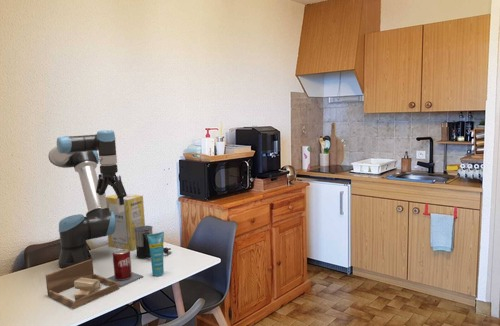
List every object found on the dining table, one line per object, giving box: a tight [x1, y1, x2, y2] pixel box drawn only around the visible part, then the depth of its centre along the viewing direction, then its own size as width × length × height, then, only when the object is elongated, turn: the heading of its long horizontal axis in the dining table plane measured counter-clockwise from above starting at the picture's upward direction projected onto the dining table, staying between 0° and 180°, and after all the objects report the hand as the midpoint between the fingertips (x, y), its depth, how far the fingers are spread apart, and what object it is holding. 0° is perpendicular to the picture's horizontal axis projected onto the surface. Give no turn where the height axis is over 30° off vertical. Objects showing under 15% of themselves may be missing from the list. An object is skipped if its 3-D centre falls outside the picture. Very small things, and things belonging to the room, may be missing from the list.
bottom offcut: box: [73, 281, 102, 301], centre depth 159 cm, size 5×12×4 cm, turn 177°
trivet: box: [106, 271, 144, 288], centre depth 174 cm, size 12×12×1 cm
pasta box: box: [106, 193, 146, 252], centre depth 217 cm, size 18×10×28 cm, turn 60°
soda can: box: [112, 248, 133, 280], centre depth 173 cm, size 7×7×12 cm
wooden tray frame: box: [45, 259, 121, 310], centre depth 162 cm, size 20×20×9 cm
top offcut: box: [73, 277, 99, 291], centre depth 159 cm, size 4×9×3 cm, turn 70°
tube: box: [147, 231, 165, 277], centre depth 177 cm, size 7×5×19 cm, turn 123°
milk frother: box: [134, 225, 172, 260], centre depth 202 cm, size 14×16×15 cm
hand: (112, 210), depth 181 cm, fingers open, 13 cm apart
